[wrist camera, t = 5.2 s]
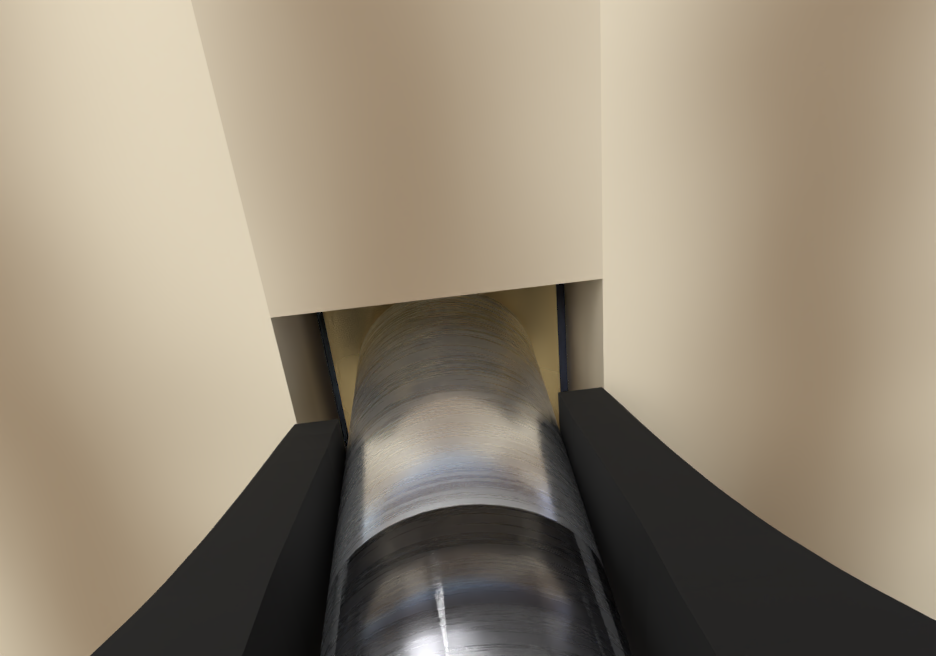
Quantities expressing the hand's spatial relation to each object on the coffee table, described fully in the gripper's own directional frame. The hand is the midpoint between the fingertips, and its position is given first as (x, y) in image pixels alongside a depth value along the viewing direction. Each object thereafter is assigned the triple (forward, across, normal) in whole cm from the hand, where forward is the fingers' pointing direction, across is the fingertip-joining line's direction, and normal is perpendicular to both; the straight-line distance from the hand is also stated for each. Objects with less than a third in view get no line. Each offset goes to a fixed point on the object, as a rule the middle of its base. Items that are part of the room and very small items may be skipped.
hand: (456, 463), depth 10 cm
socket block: (+4, 0, 0) cm, 4 cm away
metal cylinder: (+2, 0, 0) cm, 3 cm away
